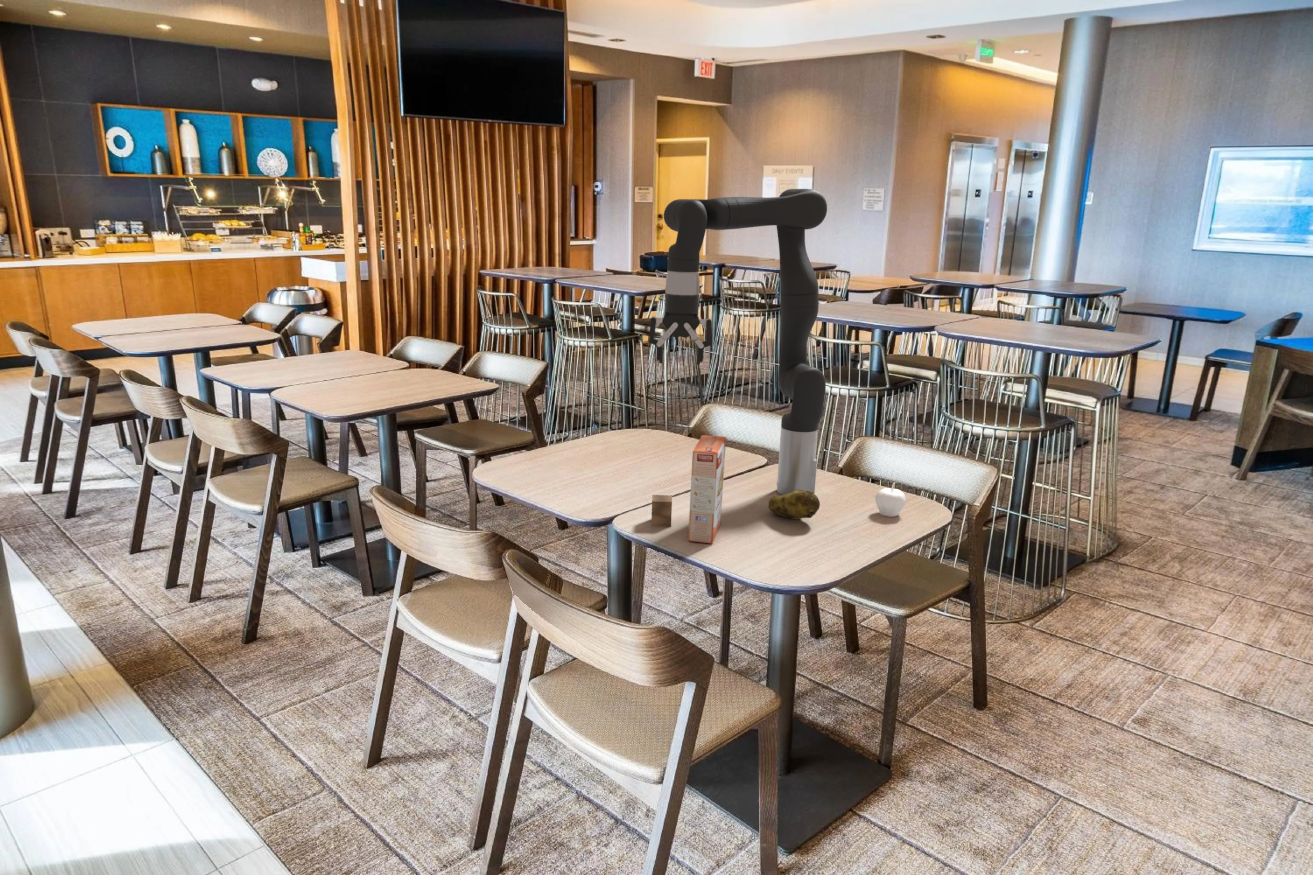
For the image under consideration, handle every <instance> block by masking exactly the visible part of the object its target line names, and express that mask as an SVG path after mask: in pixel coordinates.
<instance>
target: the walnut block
mask: <svg viewBox="0 0 1313 875" xmlns="http://www.w3.org/2000/svg"><path fill="white" fill-rule="evenodd" d="M672 511H673V495H671V494H670V495H668V494H652V498H651V524H650V526H651V527H664V528H665V527H666V528H667V527H668V528H669V527H672Z"/></svg>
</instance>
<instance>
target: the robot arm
mask: <svg viewBox="0 0 1313 875" xmlns="http://www.w3.org/2000/svg"><path fill="white" fill-rule="evenodd" d="M827 212H828V204H827V200H826V199H825V197H824V195H823V194H822V193H821V192H819V191H817V190H815V189H811V188H789V189H786V190H784V191H782V192H781V193H780V195H779V196H776V197H775V196H773V197H772V196H771V197H763V196H762V197H757V196H756V197H755V196H754V197H753V196H728V197H727V196H726V197H725V196H724V197H715V198H709V199H708V198H707V199H704V198H703V199H702V198H701V199H700V198H698V199H697V198H694V199H693V198H679V199H674V200H672V201H671V202H670V203H668V204H667V205H666V207H665V208H664V211H663V220H664V223H665V225H666V226H667V227H668V228H669V229H670V230H672V231H673V232H677V233H676V234H677V235H676V239H675V243H673V244H672V245H670V246H669V248H668V252H667V254H668V255H667V272H666V277H665V278H666V280H665V287H664V291H665V295H664V296H665V299H664V300H665V301H664V314H663V315H664V316H663V317H657V316H655V315H653V316H651V318H650V322H649V333H648V334H649V336H648V343H649V344H650V345H654V346H655V347H656V356H655V357H656V361H658V362H659V364H663V359H664V358H663V356H664V355H663V354H664V346H663V344H664V343H665V342H666V341H667V340H668V339H669V338H670V336H671V337H672V338H680V337H681V338H684V339H685V338H686V339H687V338H689V337H691V338H692V340H693V341H694V343H695V344H696V345H697V349H696V350H697V351H696V365H701V363H702V362H703V361H704V351H705V348H706V347H710V346H712V345H713V338H712V337H713V333H712V332H713V329H712V328H713V326H712V325H713V324H712V322H713V321H712V319H711V318H710V317H709V318H706V319H704V318H702V319H701V318H700V317H699V302H700V254H701V249H702V246H703V244H704V239H705V235H706V230H714V231H726V230H739V229H747V228H749V229H750V228H759V227H767V226H768V227H769V226H775V227H776V232H777V242H778V250H779V251H778V252H779V253H778V254H779V277H780V280H779V281H780V284H779V286H780V287H779V296H780V298H779V304H780V355H779V364H778V365H779V366H778V378H777V379H778V381H777V382H778V388H779V390H780V392H781V394H783V395H784V397H787V398H789V399H791V400H792V403H791V409H790V410H791V411H790V412H788V413H784V414H783V415H782V417H781V422H780V437H779V452H778V465H777V466H778V467H777V481H776V492H777V493H778V494H779V495H786V494H788V493H791V492H793V491H797V490H804V491H810V492H812V493H814V494H815V491H816V478H817V466H818V460H817V458H816V457H817V447H818V445H817V443H818V431H819V424H820V422H821V419H822V417H823V413H824V405H825V398H826V391H827V390H826V389H827V388H826V385H827V384H826V377H825V375H824V373H823V372H822V371H821V370H820V369H819V368H817V367H814V366H810V365H808V357H807V352H808V350H807V347H808V346H807V345H808V339H809V336H810V334H811V331H812V330H813V327H814V325H815V322H816V319H817V317H818V314H819V295H820V294H819V282H818V279H817V275H816V273H815V270H814V268H813V266H812V263H811V261H810V258H809V256H808V253H807V248H806V230H812V229H814V228H816V227H818V226H820V225H821V224H822V223H823V222H824V220H825V218H826V216H827ZM660 324H662V325H663V326H664V328H665V329H666V330H665V331H664V332H663V334H661V336H660V337H659V339H657V338H656V328H658V327H659V326H660ZM700 325H702V328H703V329H704V330H706V331H705V332H706V333H705V334H706V335H705V337H706V338H705V340H702V338H701V337H700V336H699V335H698V333H697V331H696V330H697V328H698V327H699V326H700Z"/></svg>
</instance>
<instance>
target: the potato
mask: <svg viewBox="0 0 1313 875" xmlns="http://www.w3.org/2000/svg"><path fill="white" fill-rule="evenodd" d="M767 506H768V509H769V511H771V513H773V514H775V515H777V516H782V517H785V518H788V519H792V520H801V519H811V518H812V517H813V516H815V515H816V514H817V512H818V511H819V509H820V506H821V502H820V499H819V498H818V496H817V495H816V494H815V493H812V492H810V491H804V490H797V491H793V492H791V493H788V494H786V495H781V494H779V495H774V496H772V497H770V499H769V500H768V504H767Z"/></svg>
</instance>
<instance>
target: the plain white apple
mask: <svg viewBox="0 0 1313 875" xmlns="http://www.w3.org/2000/svg"><path fill="white" fill-rule="evenodd" d="M895 485H896V481H895V482H893V483H892V485H891V488H890V487H889V488H888V487H885V488H882V489H880V490H879V491H878V492H877V493H876V495H875V503H876V505H877V510H878V511H879V513H880V514H881V515H882V516H884V517H887V518H888V517H889V518H890V517H891V518H895V517H897V516H899V515H900V513H901V512H902V510H903V509H904V508H905V506H906V502H907V497H906V495H905V494H904V492H903V491H902V490H900V489H898V488H895Z"/></svg>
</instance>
